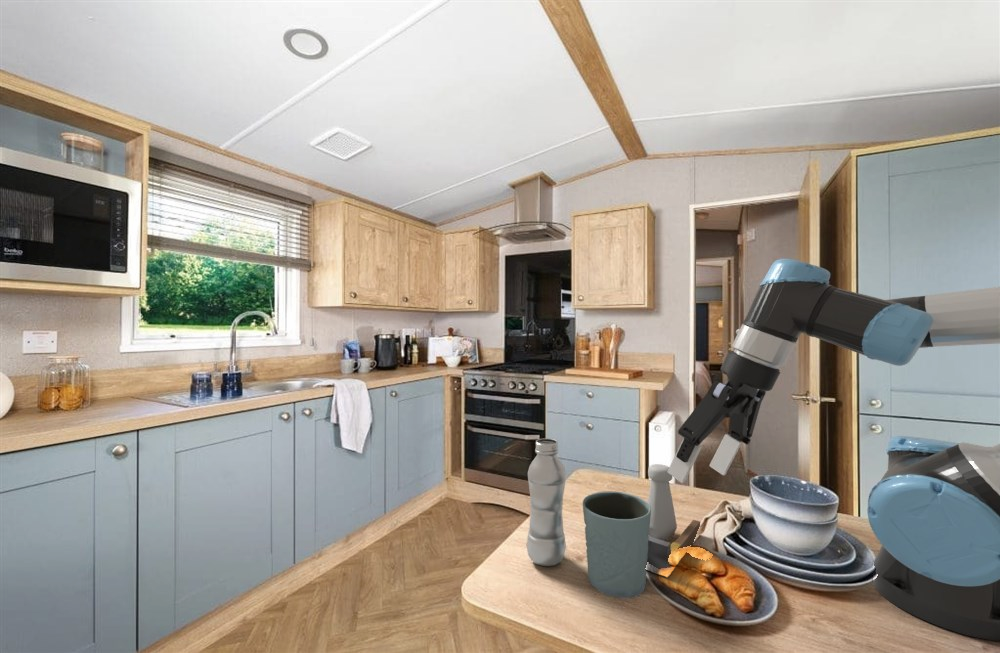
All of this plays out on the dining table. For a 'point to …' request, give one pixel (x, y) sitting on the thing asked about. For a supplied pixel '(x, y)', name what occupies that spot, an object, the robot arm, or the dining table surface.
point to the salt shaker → (661, 503)
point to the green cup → (617, 542)
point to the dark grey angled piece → (670, 546)
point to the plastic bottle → (546, 505)
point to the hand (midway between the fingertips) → (697, 473)
